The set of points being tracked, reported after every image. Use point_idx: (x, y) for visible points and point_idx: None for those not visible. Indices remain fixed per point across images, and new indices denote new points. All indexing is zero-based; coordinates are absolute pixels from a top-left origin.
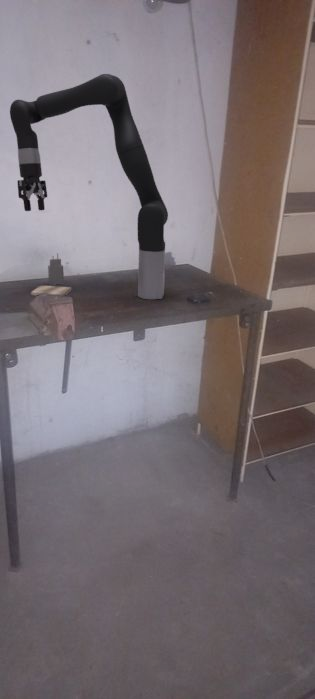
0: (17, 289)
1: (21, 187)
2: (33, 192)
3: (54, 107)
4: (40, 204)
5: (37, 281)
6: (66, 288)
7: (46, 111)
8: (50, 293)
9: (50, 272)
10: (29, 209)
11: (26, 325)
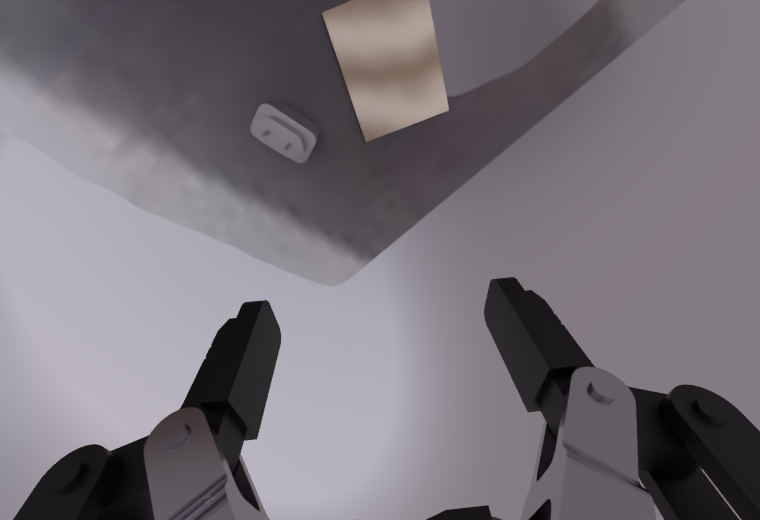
0: (413, 187)
1: None
2: (470, 517)
3: None
4: (259, 366)
5: (311, 199)
6: (345, 23)
7: None
8: (431, 36)
9: (317, 137)
10: (516, 285)
11: None
